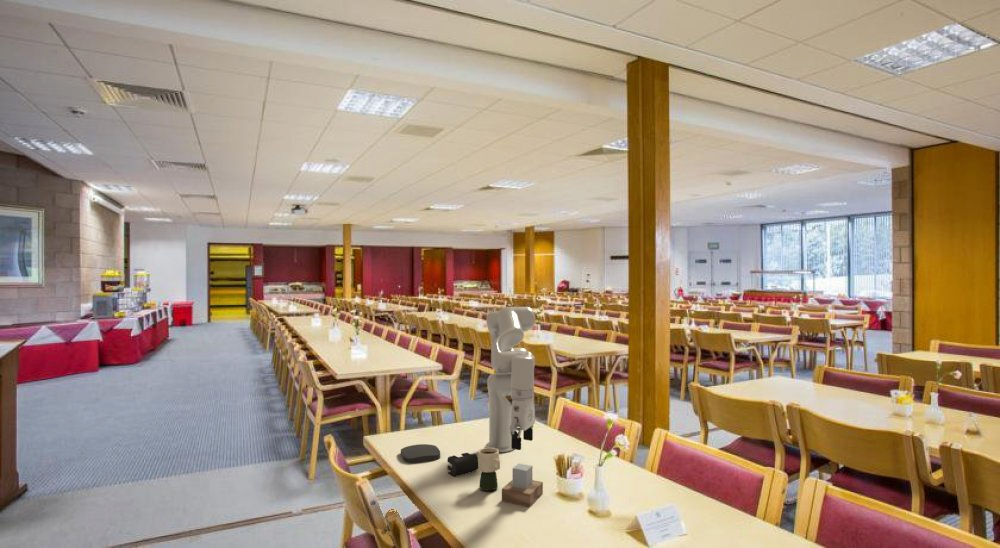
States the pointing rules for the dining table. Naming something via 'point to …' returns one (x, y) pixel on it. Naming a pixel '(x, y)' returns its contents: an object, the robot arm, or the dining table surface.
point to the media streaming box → (420, 453)
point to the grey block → (522, 476)
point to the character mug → (488, 467)
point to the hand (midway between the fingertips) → (522, 444)
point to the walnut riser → (522, 493)
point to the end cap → (462, 464)
